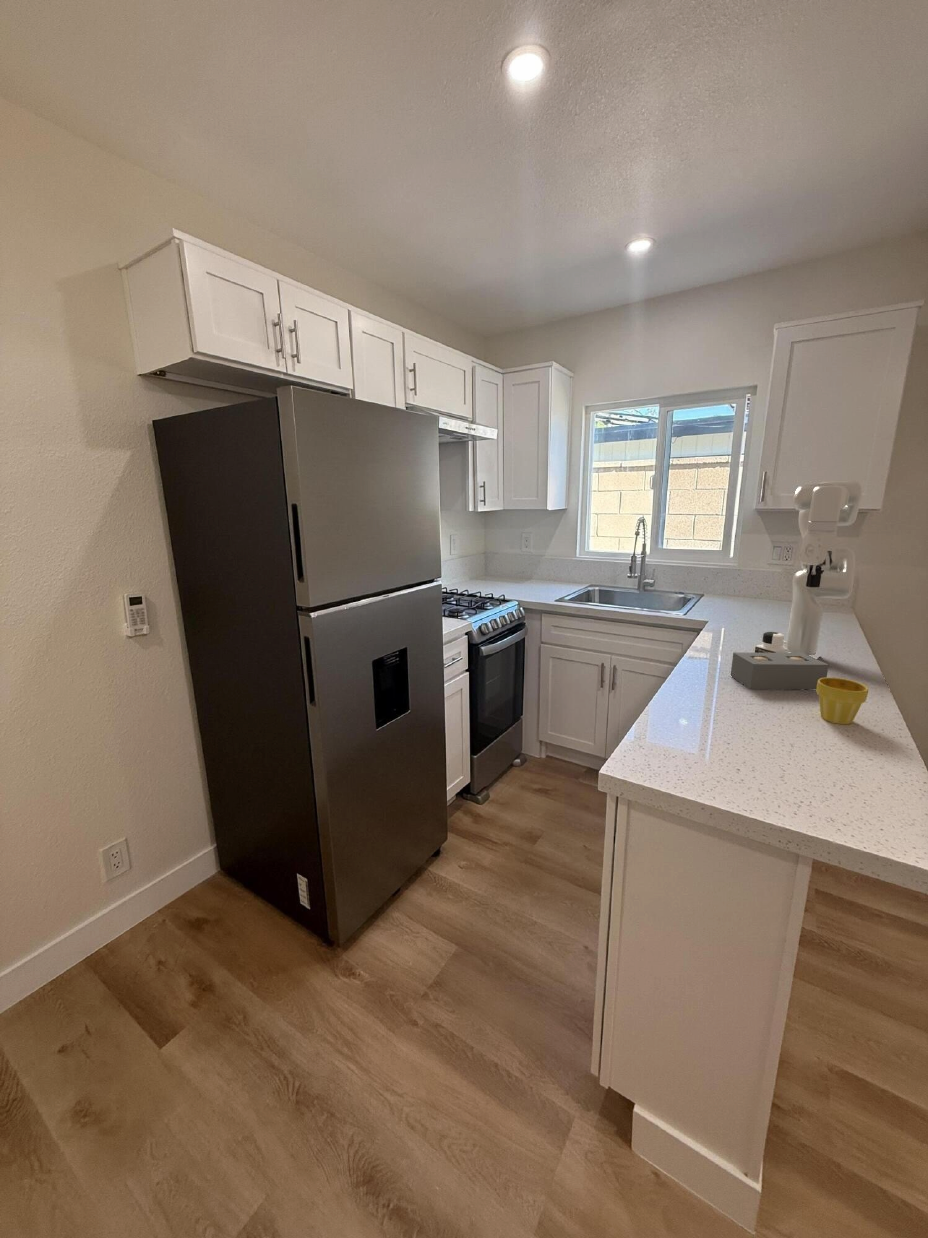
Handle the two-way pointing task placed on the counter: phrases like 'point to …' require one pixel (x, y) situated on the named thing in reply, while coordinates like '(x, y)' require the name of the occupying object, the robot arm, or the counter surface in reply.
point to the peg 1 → (760, 659)
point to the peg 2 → (797, 659)
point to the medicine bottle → (771, 643)
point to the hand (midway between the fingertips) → (812, 586)
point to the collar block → (777, 670)
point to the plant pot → (840, 699)
